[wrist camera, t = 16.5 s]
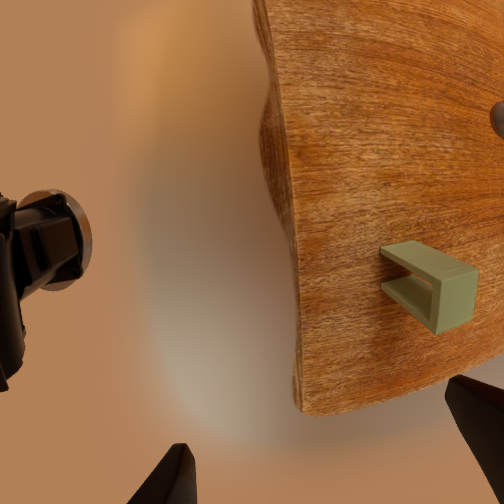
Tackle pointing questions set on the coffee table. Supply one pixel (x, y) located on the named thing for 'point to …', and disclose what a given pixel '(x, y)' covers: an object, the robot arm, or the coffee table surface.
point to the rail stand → (498, 118)
